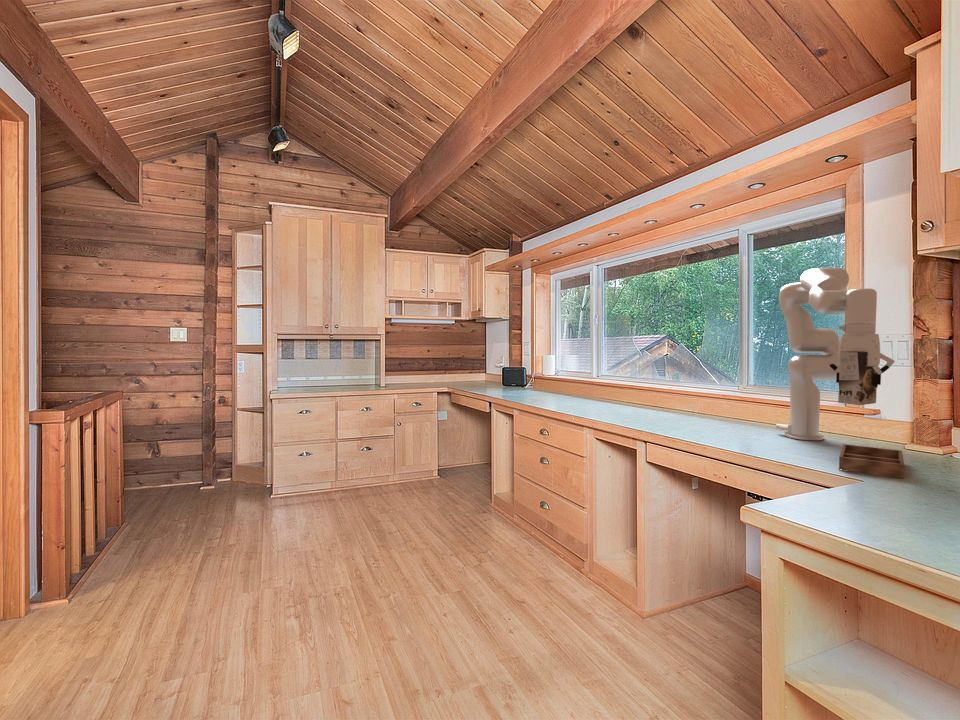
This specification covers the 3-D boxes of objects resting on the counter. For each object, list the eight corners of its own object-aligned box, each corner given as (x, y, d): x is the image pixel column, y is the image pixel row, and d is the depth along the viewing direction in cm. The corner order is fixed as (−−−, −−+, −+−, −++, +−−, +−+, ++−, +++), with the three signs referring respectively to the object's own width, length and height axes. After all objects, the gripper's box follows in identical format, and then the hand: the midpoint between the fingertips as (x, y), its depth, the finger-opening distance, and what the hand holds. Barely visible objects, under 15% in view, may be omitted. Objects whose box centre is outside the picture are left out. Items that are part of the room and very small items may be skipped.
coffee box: (860, 405, 147) (862, 351, 146) (837, 402, 153) (839, 351, 152) (877, 403, 151) (879, 350, 150) (853, 400, 157) (855, 350, 156)
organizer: (838, 470, 146) (839, 456, 146) (842, 456, 162) (843, 444, 161) (903, 479, 137) (904, 464, 137) (901, 463, 152) (901, 450, 152)
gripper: (823, 329, 154) (822, 385, 155) (896, 329, 142) (894, 389, 143) (826, 329, 159) (825, 383, 160) (897, 329, 148) (894, 386, 149)
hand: (857, 385), depth 152 cm, fingers closed on coffee box, 8 cm apart
